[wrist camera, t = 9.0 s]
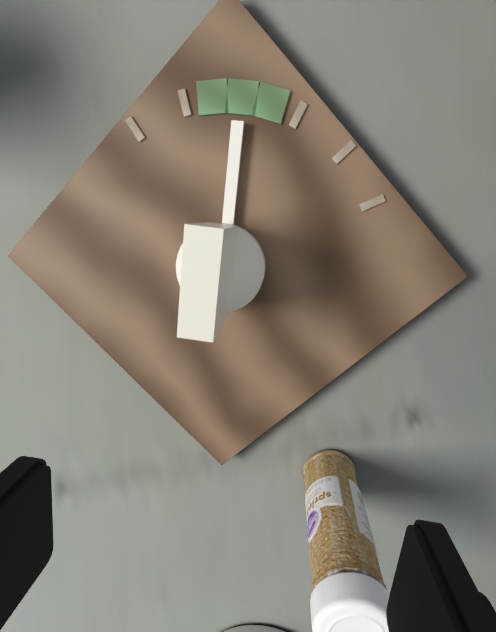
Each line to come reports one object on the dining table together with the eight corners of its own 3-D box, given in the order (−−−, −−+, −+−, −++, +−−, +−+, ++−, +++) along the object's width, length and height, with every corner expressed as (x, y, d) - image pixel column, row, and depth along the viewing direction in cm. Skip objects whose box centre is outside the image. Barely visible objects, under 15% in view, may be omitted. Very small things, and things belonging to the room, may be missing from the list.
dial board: (224, 454, 33) (221, 466, 32) (20, 253, 30) (5, 255, 29) (458, 273, 27) (469, 276, 26) (232, 1, 24) (228, -14, 23)
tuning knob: (260, 311, 28) (249, 347, 20) (180, 300, 28) (140, 332, 20) (283, 126, 24) (282, 85, 17) (193, 117, 25) (151, 72, 17)
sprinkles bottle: (306, 444, 32) (318, 597, 19) (359, 451, 32) (409, 613, 19) (299, 488, 33) (306, 661, 20) (351, 496, 33) (391, 677, 20)
